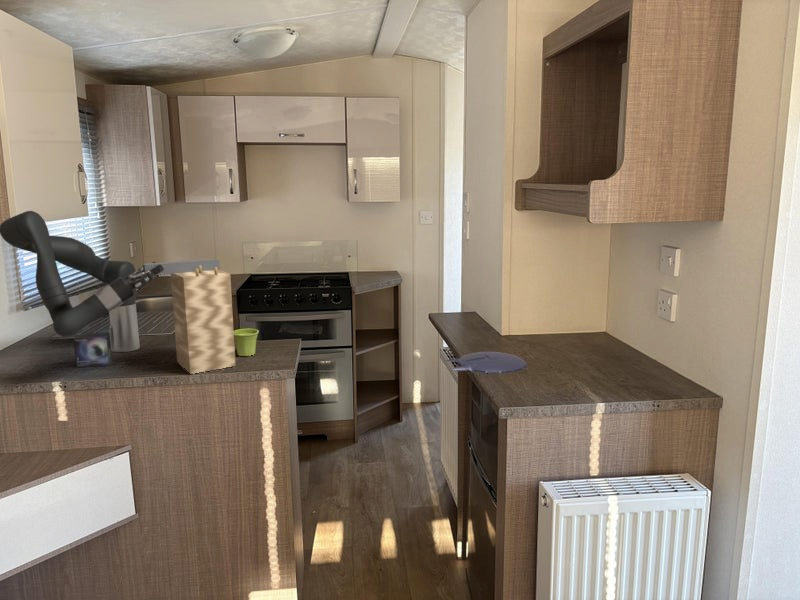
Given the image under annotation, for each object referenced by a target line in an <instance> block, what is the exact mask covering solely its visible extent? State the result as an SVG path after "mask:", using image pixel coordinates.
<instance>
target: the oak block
mask: <svg viewBox="0 0 800 600" xmlns="http://www.w3.org/2000/svg"><path fill="white" fill-rule="evenodd" d="M231 280H232V279H231V273H229V272H227V271H224V270H221V269H220V270H217V267H214V270H210V271H202V266H201V265H199V269H198V268H196V272H186V273H174V274H170V285H171V286H170V287H171V294H172V295H171V296H172V297H171V298H172V309H173V311H172V312H173V324H174V336H175V350H176V362H177V363H178V364H179V365H180V366H181V368H183V369H184V368H185V369H186V370H187V371H188V372H189V373H190V374H193V375H196V374H195V373H199V372H204V373H206V372H205V371H210V370H216V369H222V368H226V367H232V366H236V352H235V351H236V350H235V348H236V346H235V338H234V331H235V330H234V316H233V315H234V314H233V313H234V312H233V299H232V297H233V296H232V281H231ZM185 369H184V370H185ZM186 370H185V371H186ZM222 370H223V369H222ZM187 371H186V372H187ZM216 371H217V370H216ZM188 372H187V373H188ZM210 372H211V371H210ZM189 373H188V374H189ZM190 374H189V375H190ZM199 374H200V373H199Z"/></svg>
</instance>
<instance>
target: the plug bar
mask: <svg viewBox="0 0 800 600" xmlns="http://www.w3.org/2000/svg"><path fill="white" fill-rule="evenodd" d="M159 264H160V265H162V267H163V268H164V270H163V271H162V272H160V273H159V274H157V275H156V276H160V275H171V274H174V273H186V272H196V268H198V269H199V265H201V266H202V271H210V270H214V267H217V270H221V268H220V259H218V258H207V259H206V258H205V259H191V260H177V261H176V260H175V261H164V262H156V263H152V262H150V263H148V262H147V263H142V268H143V272H144V273H146V272H148V271H150V270H151V269H153V268H154V267H156V266H157V265H159Z"/></svg>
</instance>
